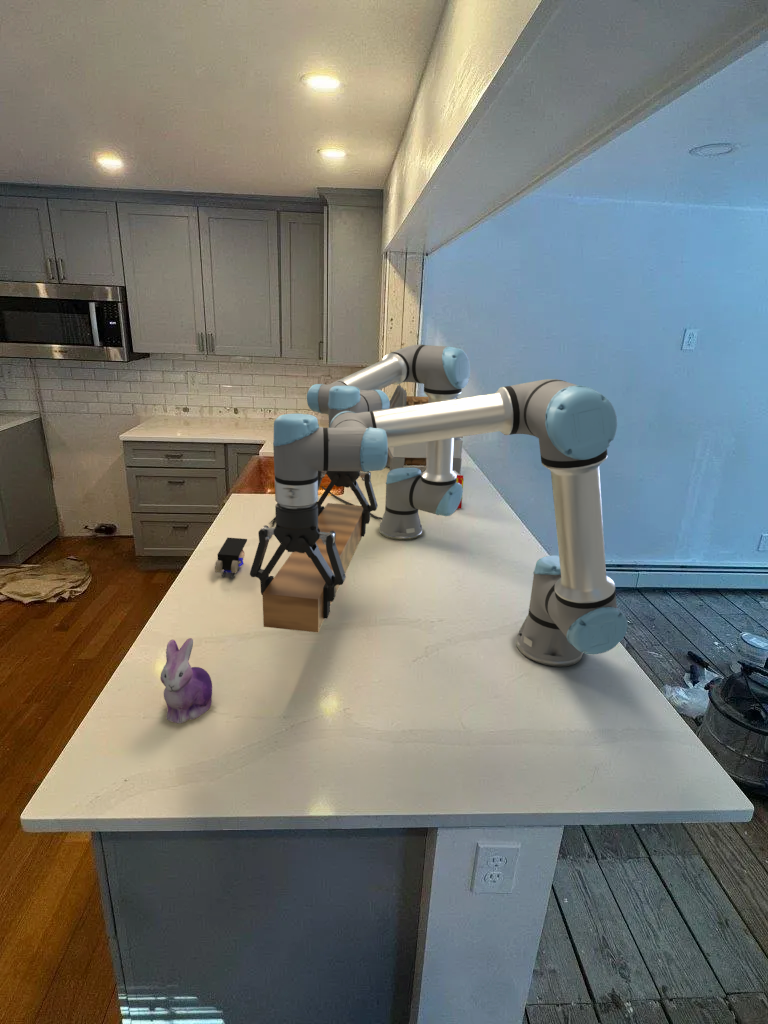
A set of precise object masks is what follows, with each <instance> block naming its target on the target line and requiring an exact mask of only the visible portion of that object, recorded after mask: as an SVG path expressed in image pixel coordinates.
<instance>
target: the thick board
mask: <svg viewBox="0 0 768 1024" xmlns="http://www.w3.org/2000/svg"><path fill="white" fill-rule="evenodd" d="M362 511H363V507H362V506H361V505H356V504H353V505H349V504H346V503H345V504H344V503H333V502H327V503H326V505H324V509H323V511H322V512H321V513H320V515H319V516H318V527H319V529H320V531H321V532H328V533H329V532H330V531H334V532H335V533H336V537H335V544H336V547H337V550H338V553H339V556H340V560H341V563H342V566H343V569H344V572H345V574H346V573H347V570H348V568H349V567H350V564H351V562H352V559H353V557H354V555H355V552H356V551H357V549H358V546H359V545H360V542H361V540H362V539H363V537H361V522H362ZM316 544H317V545H318V547H319V551H320V552H321V554H322V556H323V557H324V559H325V561H326V562H327V564H328V566H329V567H330V569H331V570H332V572H333V569H332V566H331V563H330V560H329V556H328V553H327V550H326V545H324V544H323V541H322V540H321V539H318V540H317V542H316ZM333 574H334V572H333ZM325 583H326V582H325V581H324V579H323V578H322V576H321V574H320V573H319V571H318V569H317V568H316V566H315V565H314V563H313V561H312V560H311V558H309V557H308V555H307V554H306V552H305V553H299V552H291V554H290V555H289V556H288V558H287V559H286V560H285V562H284V563H283V564H282V566H281V568H279V570H278V572H277V573H276V574H275V575H274V578H273V580H272V581H271V583H270V584H269V585H268V587H267V588H266V590H265V591H264V592H263V594H261V596H262V620H263V621H262V622H263V627H264V628H270V629H280V630H281V629H282V630H289V631H297V632H299V631H300V632H309V633H318V634H319V631H320V629H321V628H322V625H323V623H324V621H325V619H323V587H324V585H325ZM340 586H341V585H336V593H338V591H339V588H340ZM332 603H333V602H330V607H331V605H332Z"/></svg>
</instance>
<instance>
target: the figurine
mask: <svg viewBox="0 0 768 1024" xmlns="http://www.w3.org/2000/svg"><path fill="white" fill-rule="evenodd" d="M193 646H194V639H193V638H192V637H188V639H186V640H185V641H184V643H183V644H182V645H181V646H180V648H179V646H178V643H177V642H176V640H175V639H172V638H171V640H169V641H168V642H167V644H166V649H165V657H166V658H165V659H166V661H165V664H164V666H163V668H162V670H161V672H160V676H159V679H160V682H161V683H162V684H163V685H164V686H165V688H164V689H163V699H164V701H165V704H166V707H167V710H166V711H167V712H166V716H165V717H166V720H167V721H168V722H171V723H176V724H184V723H186V722H187V721H190V720H196V719H197V718H199V717H200V716H202V715H203V714H205V713H206V712H207V711H208V710H210V709H211V706H212V700H213V699H212V696H213V682H212V678H211V676H210V674H209V673H208V671H207V670H206V669H204V668H203V667H199V666H191V664H190V658H191V655H192V650H193Z"/></svg>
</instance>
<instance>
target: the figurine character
mask: <svg viewBox="0 0 768 1024" xmlns="http://www.w3.org/2000/svg"><path fill="white" fill-rule="evenodd" d="M247 542H248V538H240V537H226V539H225V541H224V543H223V544H222V546H221V547H220V549H219V551H218V552H217V560H216V562H215V564H214V572H215V573H221V577H222V578H224V577H225V576H226V574H227V573H230V574H231V573H232V574H231V578H234V577H235V575H236V573H237V572H239V571H240V567H242V566H243V565H244V564H245V562H244V558H245V551H244V547H245V546H246V544H247Z"/></svg>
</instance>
